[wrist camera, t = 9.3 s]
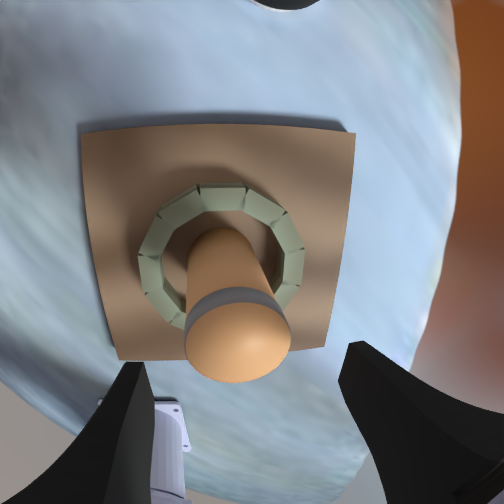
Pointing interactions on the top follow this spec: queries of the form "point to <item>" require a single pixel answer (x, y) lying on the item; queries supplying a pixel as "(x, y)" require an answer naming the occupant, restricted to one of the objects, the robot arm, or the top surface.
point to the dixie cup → (283, 4)
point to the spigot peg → (231, 311)
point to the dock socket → (214, 221)
